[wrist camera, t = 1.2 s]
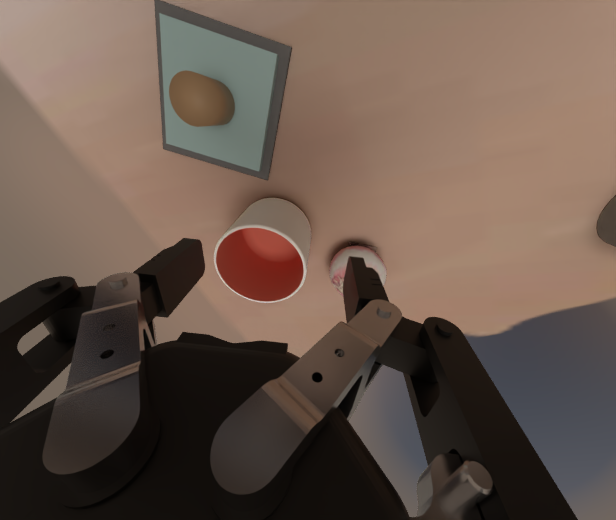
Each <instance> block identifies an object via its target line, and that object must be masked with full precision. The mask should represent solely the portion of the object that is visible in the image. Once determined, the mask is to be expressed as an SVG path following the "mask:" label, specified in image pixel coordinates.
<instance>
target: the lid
mask: <svg viewBox="0 0 616 520" xmlns="http://www.w3.org/2000/svg"><path fill="white" fill-rule="evenodd" d="M159 15H160V34H161V53H162V72H163V91H164V110H165V129H166V143H167V144H170V145H173V146H176V147H180V148H183V149H186V150H190V151H193V152H196V153H199V154H203V155H206V156H209V157H213V158H216V159H219V160H222V161H226V162H229V163H232V164H236V165H239V166H242V167H245V168H249V169H252V170H255V171H260V170H261V167H262V161H263V155H264V148H265V142H266V136H267V130H268V123H269V117H270V111H271V104H272V98H273V92H274V85H275V79H276V73H277V67H278V60H279V56H278V55H277V54H275V53H272V52H269V51H266V50H264V49H261V48H258V47H255V46H252V45H249V44H246V43H244V42H241V41H238V40H235V39H232V38H229V37H226V36H224V35H221V34H218V33H215V32H212V31H209V30H206V29H204V28H201V27H198V26H195V25H192V24H189V23H187V22H184V21H181V20H178V19H175V18H172V17H169V16H167V15H164V14H161V13H159Z"/></svg>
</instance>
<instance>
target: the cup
mask: <svg viewBox="0 0 616 520" xmlns="http://www.w3.org/2000/svg"><path fill="white" fill-rule="evenodd" d="M310 243H311V227H310V224H309V221H308V219H307V217H306V216H305V214H304V213H303V212H302V211H301V210H300V209H299V208H298V207H297V206H296V205H294V204H293V203H291V202H289V201H287V200H284V199H280V198H265V199H261V200H258V201H256V202H254V203H253V204H251V205H250V206H249V207H248V208H247V209H246V210H245V211H244V212H243V213H242V214H241V216H240V217H239V218H238V219H237V220H236V221H235V222H234V223H233V225H232V226H231V227H230V228H229V229H228V230H227V231H226V232H225V234H224V235H223V236H222V237H221V238H220V239H219V241H218V243H217V245H216V247H215V251H214V264H215V268H216V271H217V273H218V275H219V276H220V278H221V280H222V281H223V282H224V284H225V285H226V286H227V287H228V288H230V289H231V290H232V291H233V292H235V293H236V294H238V295H240V296H242V297H244V298H246V299H249V300H252V301H256V302H262V303H272V302H278V301H282V300H285V299H287V298H289V297H291V296H292V295H294V294H295V293H296V292H297V291H298V290H299V289H300V288H301V286H302V285H303V283H304V281H305V278H306V273H307V265H308V257H309V250H310Z"/></svg>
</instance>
